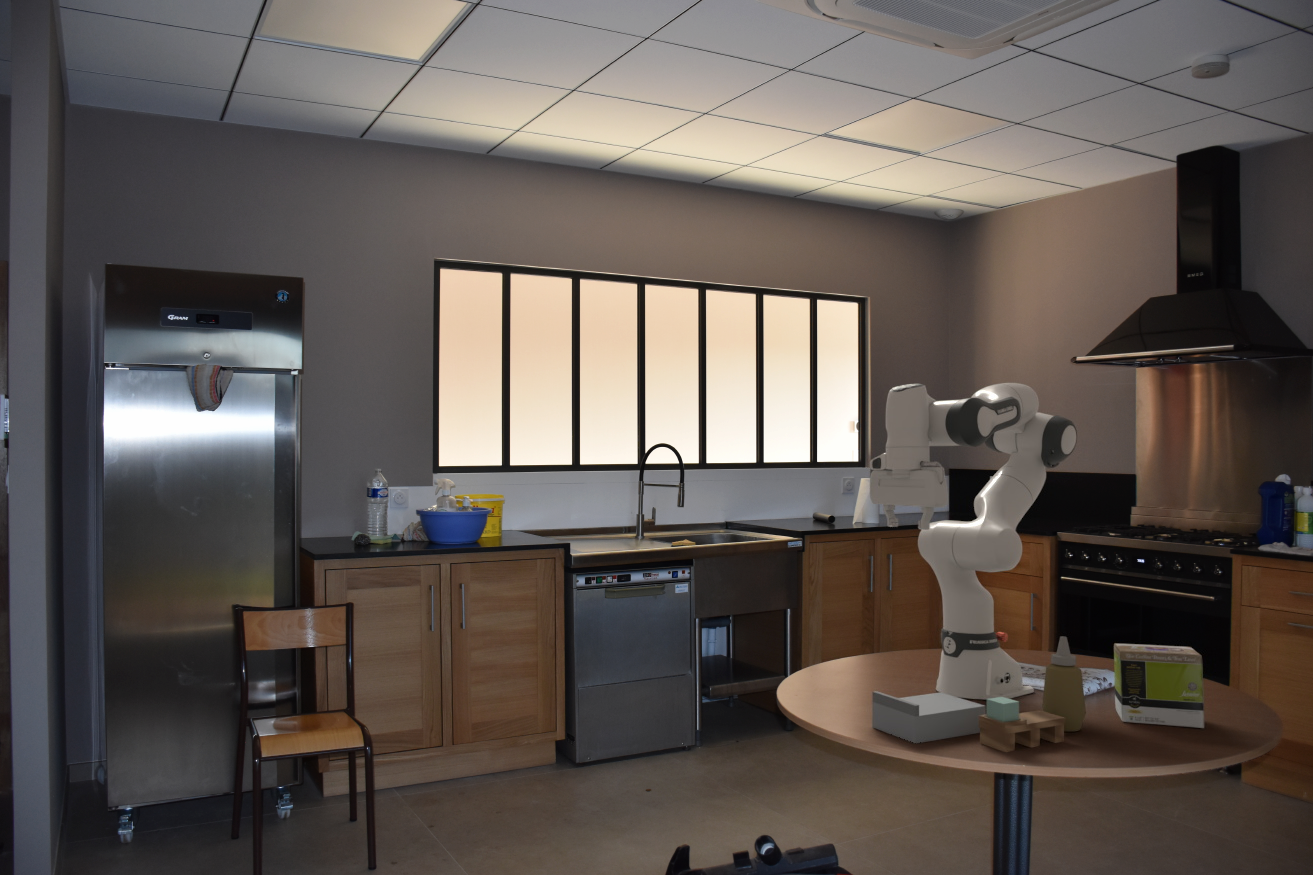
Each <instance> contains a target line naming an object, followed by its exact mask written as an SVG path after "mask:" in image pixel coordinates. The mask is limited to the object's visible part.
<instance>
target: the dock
mask: <svg viewBox="0 0 1313 875" xmlns="http://www.w3.org/2000/svg"><path fill="white" fill-rule="evenodd" d="M871 695H872V703H871V704H872V710H871V712H872V717H871V718H872V719H871V720H872V721H871V722H872V728H874V729H876V730H879V731H880V732H881V731H882V732H884V733H887V734H889V735H891V734H892V735H891V736H894V737H897V738H899V737H900V739H902V740H904V739H905V741H907V740H908V741H907V742H910V741H911V742H910V743H912V742H913V744H915V743H916V744H920V742H921V743H926V742H927V743H928V742H933V741H937V740H945V739H951V738H956V737H963V736H967V735H973V734H980V727H979V715H985V714H987V705H985V704H981V703H977V702H975V701H970V700H967V699H965V698H961V697H955V696H951V695H948V694H945V693H941V692H935V693H934V692H933V693H927V694H920V695H919V694H918V695H911V696H905V697H896V696H893V695H890V694H886V693H883V692H880V691H878V690H876V691H875V690H874V691H872V694H871Z"/></svg>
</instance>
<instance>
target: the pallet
mask: <svg viewBox="0 0 1313 875" xmlns="http://www.w3.org/2000/svg"><path fill="white" fill-rule="evenodd" d="M1064 724H1065V718H1064V717H1061V716H1057V715H1054V714H1050V713H1047V712H1043V710H1040V709H1039V710H1031V711H1027V712H1019V720H1015V721H1009V722H1001V721H998V720H995V719H992V718H989V717H987V713H986V714H985V715H979V727H980V733H979V744H981V745H984V746H988V747H990V748H992V749H995V750H998V751H1001V752H1005V753H1008V752H1013V751H1016V750H1015V747H1016V745H1015V744H1019V743H1020V745H1023V746H1026V747H1029V748H1034V747H1040V746H1041V744H1040V742H1041V738H1042V740H1045V741H1047V742H1051V743H1054V744H1057V743H1061V742H1062V743H1063V742H1065V731H1064Z"/></svg>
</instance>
